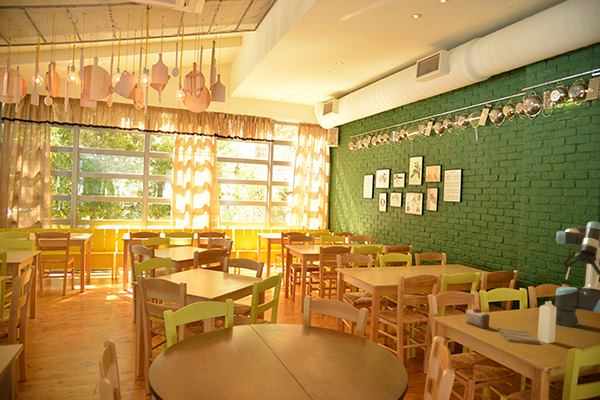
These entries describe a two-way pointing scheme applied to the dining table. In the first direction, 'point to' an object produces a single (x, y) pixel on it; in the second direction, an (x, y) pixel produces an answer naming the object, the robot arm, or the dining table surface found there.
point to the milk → (547, 322)
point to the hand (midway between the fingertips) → (580, 282)
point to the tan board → (518, 336)
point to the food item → (477, 318)
